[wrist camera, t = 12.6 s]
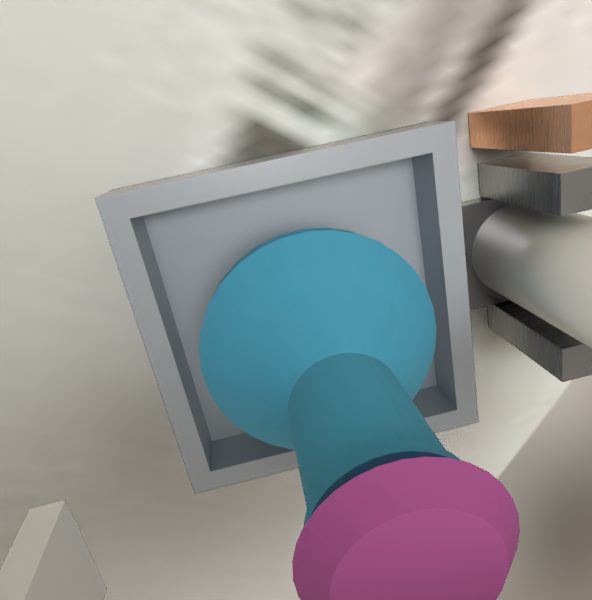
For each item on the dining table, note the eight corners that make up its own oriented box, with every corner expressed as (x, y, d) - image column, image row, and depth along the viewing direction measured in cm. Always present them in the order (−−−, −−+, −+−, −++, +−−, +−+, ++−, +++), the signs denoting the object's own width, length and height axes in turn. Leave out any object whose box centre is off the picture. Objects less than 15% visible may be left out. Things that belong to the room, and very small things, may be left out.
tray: (198, 454, 26) (194, 494, 23) (112, 189, 21) (94, 198, 18) (452, 391, 26) (478, 422, 24) (425, 122, 22) (454, 120, 19)
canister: (473, 303, 24) (629, 412, 15) (466, 212, 22) (636, 268, 13) (561, 282, 24) (770, 377, 15) (560, 190, 23) (794, 230, 13)
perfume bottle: (390, 194, 22) (685, 311, 8) (402, 374, 25) (626, 688, 11) (185, 226, 21) (101, 420, 7) (224, 407, 24) (220, 789, 10)
